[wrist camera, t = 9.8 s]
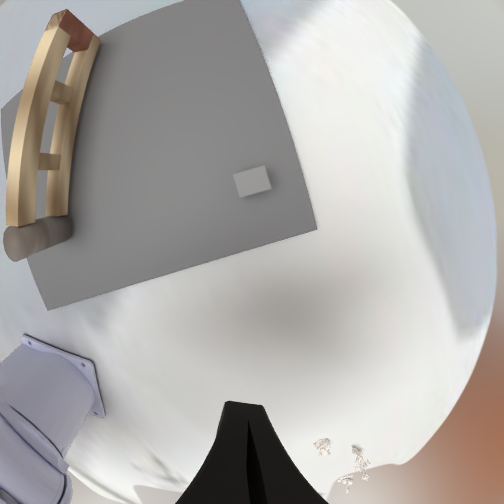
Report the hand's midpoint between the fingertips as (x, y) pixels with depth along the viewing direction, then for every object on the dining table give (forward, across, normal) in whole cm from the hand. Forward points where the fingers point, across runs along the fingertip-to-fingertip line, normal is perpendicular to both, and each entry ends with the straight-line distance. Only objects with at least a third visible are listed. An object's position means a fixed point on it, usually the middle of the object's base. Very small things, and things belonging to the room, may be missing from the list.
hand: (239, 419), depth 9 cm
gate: (+9, +14, -9) cm, 19 cm away
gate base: (+10, +11, -9) cm, 18 cm away
